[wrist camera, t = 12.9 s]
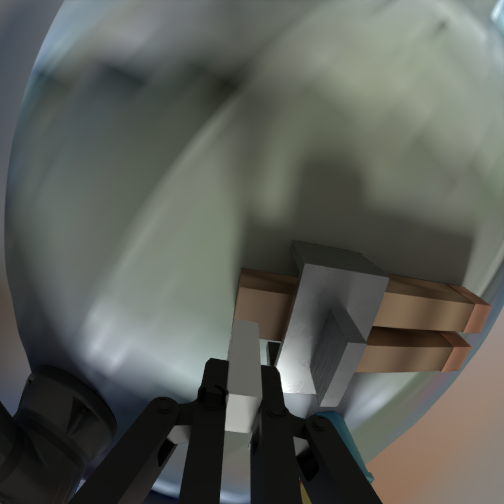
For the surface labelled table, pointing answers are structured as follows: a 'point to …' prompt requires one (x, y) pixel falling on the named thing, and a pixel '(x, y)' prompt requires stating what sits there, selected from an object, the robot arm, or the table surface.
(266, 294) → the base
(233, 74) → the table surface
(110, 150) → the table surface
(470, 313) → the hinged jaw
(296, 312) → the collar
